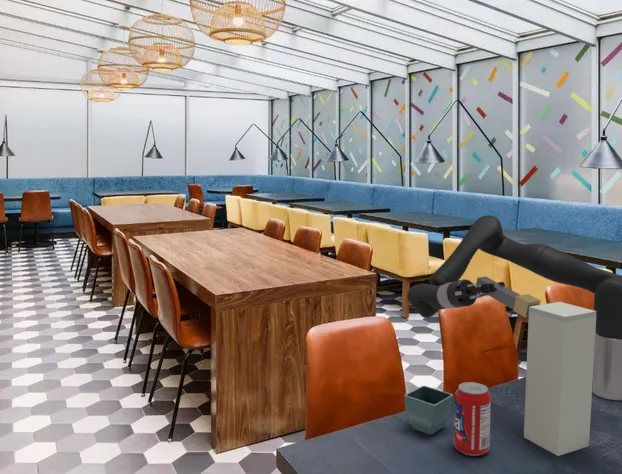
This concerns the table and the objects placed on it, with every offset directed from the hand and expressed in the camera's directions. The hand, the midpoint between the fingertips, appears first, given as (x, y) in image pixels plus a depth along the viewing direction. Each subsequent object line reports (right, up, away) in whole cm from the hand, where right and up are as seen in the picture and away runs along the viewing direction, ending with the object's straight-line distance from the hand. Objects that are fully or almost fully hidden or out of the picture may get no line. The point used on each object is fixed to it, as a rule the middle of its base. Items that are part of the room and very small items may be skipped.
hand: (498, 286), depth 150 cm
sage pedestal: (+9, -35, -13) cm, 39 cm away
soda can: (-12, -36, -17) cm, 42 cm away
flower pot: (-19, -35, -6) cm, 40 cm away
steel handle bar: (+1, -4, -2) cm, 4 cm away
